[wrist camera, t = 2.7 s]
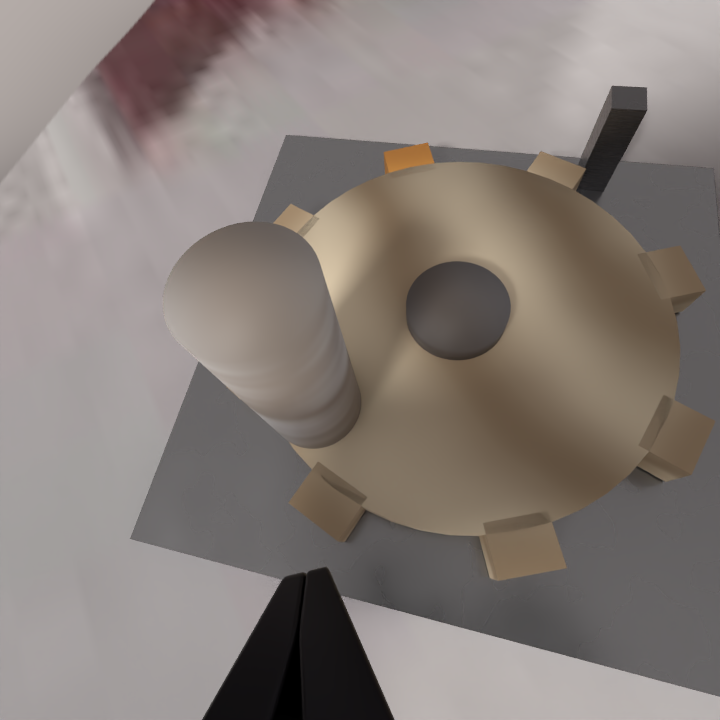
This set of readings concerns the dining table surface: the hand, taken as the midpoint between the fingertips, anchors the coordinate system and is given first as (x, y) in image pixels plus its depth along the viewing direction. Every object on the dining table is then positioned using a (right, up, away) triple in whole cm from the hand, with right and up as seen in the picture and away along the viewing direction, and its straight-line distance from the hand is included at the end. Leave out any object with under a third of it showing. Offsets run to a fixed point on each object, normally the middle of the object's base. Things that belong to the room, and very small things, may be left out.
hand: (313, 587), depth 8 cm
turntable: (+5, +5, +9) cm, 12 cm away
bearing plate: (+5, +5, +10) cm, 12 cm away
